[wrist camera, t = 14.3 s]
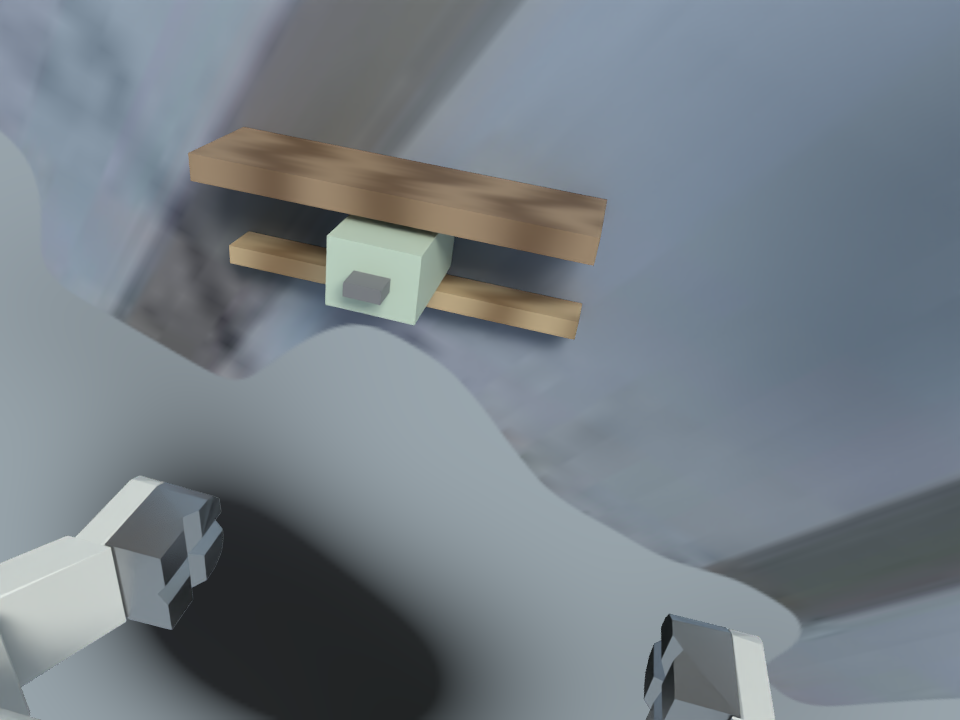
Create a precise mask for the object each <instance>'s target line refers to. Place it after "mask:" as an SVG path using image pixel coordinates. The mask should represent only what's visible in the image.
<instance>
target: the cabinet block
mask: <svg viewBox="0 0 960 720" xmlns="http://www.w3.org/2000/svg"><path fill="white" fill-rule="evenodd" d="M454 238H455V236H451V235H446V234H441V233H437V232H432V231H427V230H422V229H418V228H413V227H408V226H403V225H399V224H394V223H389V222H384V221H380V220H375V219H370V218H365V217H361V216H356V215H351V214H350V215H349V216H348V217H347V218H345V219H344V220H343V221H342V222H341V223H340V224H339V225H338V226H337V227H336V228H335V229H333V230H332V231H331V232H330V233H329V234H328V235H327V254H326V292H325V305H330V306H334V307H338V308H342V309H347V310H351V311H355V312H360V313H364V314H368V315H372V316H377V317H381V318H385V319H390V320H394V321H398V322H402V323H407V324H411V325H415V324H416V322H417V320H418V319H419V317H420V315H421V314H422V312H423V310H424V309H425V307H426V306H427V304H428V302H429V301H430V299H431V297H432V296H433V294H434V293H435V291H436V289H437V288H438V286H439V284H440V283H441V281H442V280H443V278H444V276H445V275H446V273H447V271H448V270H449V268H450V266H451V261H452V253H453V246H454Z"/></svg>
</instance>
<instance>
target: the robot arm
mask: <svg viewBox="0 0 960 720" xmlns="http://www.w3.org/2000/svg"><path fill="white" fill-rule="evenodd" d="M220 513H221V508H220V501H219V498H216V497H214V496H211V495H208V494H204V493H201V492H197V491H194V490H190V489H187V488H184V487H180V486H176V485H173V484H170V483H166V482H162V481H158V480H155V479H151V478H147V477H144V476H138V477H135V478H133V479H131V480H130V481H129V482H128V483H127V484H126V485H125V486H124V487H123V488H122V489H121V490H120V491H119V492H118V493H117V494H116V496H114V497H113V498H112V499H111V501H110V502H109V503H108V504H107V505H106V506H105V507H104V508H103V509H102V510H101V511H100V512H99V513H98V514H97V515H96V516H95V517H94V518H93V519H92V520H91V521H90V522H89V523H88V524H87V525H86V526H85V527H84V528H83V530H82V531H81V532H80V533H79V534H78V535H77V536H76V537H71V536H65V537H63V538H60V539H58V540H55V541H53V542H50V543H48V544H46V545H43V546H41V547H38V548H36V549H34V550H31V551H29V552H26V553H24V554H21V555H19V556H17V557H14V558H12V559H9V560H7V561H4V562H2V563H0V720H39V719H36V718H33V717H30V710H29V707H28V705H27V702H26V699H25V697H24V694H23V691H22V689H21V687H22V686H24V685H25V684H27V683H29V682H30V681H32V680H33V679H35V678H37V677H38V676H40V675H42V674H43V673H44V672H46V671H48V670H50V669H51V668H53V667H54V666H56V665H58V664H59V663H61V662H62V661H64V660H65V659H67V658H69V657H70V656H72V655H73V654H75V653H77V652H78V651H80V650H81V649H83V648H85V647H86V646H88V645H89V644H91V643H92V642H94V641H95V640H97V639H99V638H100V637H102V636H104V635H105V634H107V633H109V632H110V631H112V630H113V629H115V628H117V627H118V626H120V625H121V624H123V623H124V622H126V619H130V620H135V621H139V622H142V623H146V624H150V625H155V626H158V627H163V628H166V629H171V630H172V629H173V628H174V626H175V625H176V623H177V622H178V620H179V619H180V618H181V616H182V615H183V613H184V611H185V610H186V609H187V607H188V606H189V605H190V603H191V602H192V600H193V595H192V587H194V586H196V585H198V584H199V583H201V582H204V581H205V580H207V579H208V577H209V576H210V574H211V573H212V571H213V570H214V568H215V566H216V564H217V561H218V559H219V556H220V554H221V551H222V545H223V529H222V528H221V527H220V525H219V524H218V523H217V522H216V518H217V517H218V515H219V514H220ZM645 673H646V674H645V683H644V700H645V702H646V704H647V705H648V707H649V708H650V711H649V714H648V716H647V718H646V720H775V715H774V708H773V702H772V696H771V690H770V684H769V678H768V672H767V665H766V659H765V653H764V647H763V642H762V641H761V639H760V637H759V636H755V635H751V634H747V633H743V632H739V631H735V630H731V629H727V628H725V627H721V626H717V625H713V624H709V623H705V622H701V621H697V620H693V619H689V618H685V617H681V616H677V615H673V614H668V616H667V617H665V620H664V622H663V624H662V626H661V641H659V642H656V643H654V645H653V648H652V650H651V653H650V655H649V659H648V664H647V669H646V672H645Z"/></svg>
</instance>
